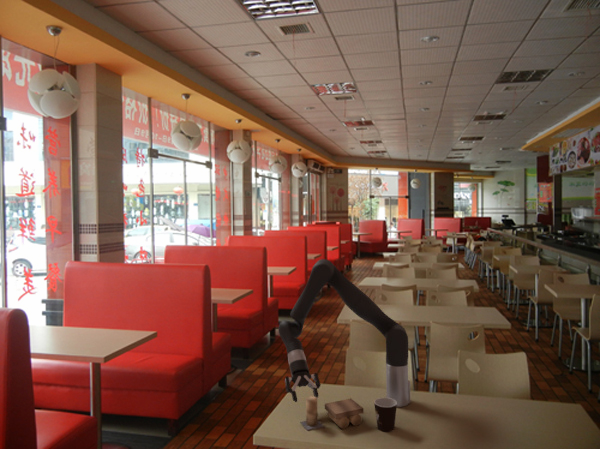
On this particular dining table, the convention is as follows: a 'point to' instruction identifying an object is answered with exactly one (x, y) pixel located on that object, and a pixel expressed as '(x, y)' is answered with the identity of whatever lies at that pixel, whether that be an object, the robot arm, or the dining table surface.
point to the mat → (312, 426)
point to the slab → (344, 412)
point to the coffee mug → (385, 413)
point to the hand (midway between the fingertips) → (306, 399)
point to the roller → (311, 411)
